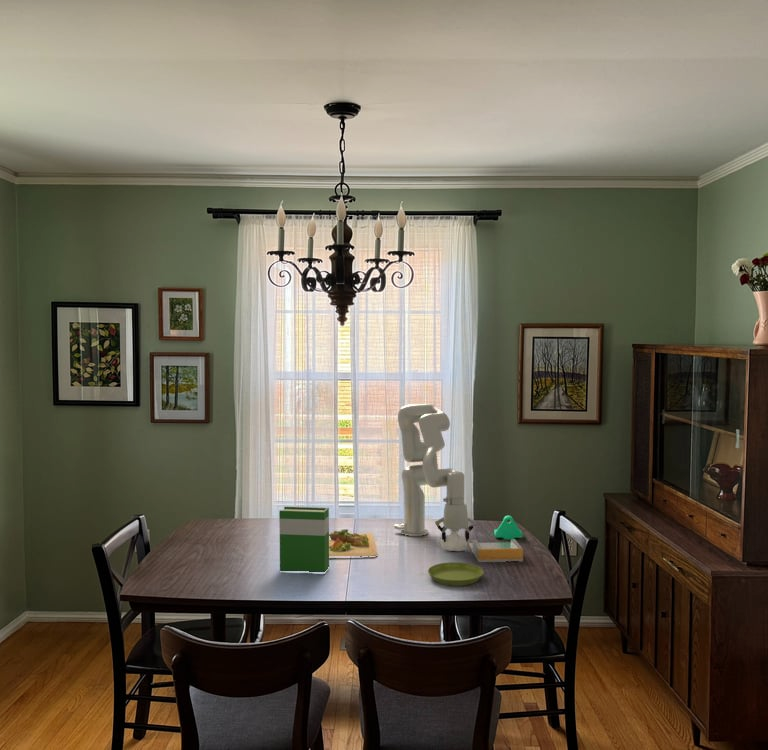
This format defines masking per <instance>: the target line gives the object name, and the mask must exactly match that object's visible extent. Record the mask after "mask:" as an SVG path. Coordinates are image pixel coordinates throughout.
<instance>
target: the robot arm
mask: <svg viewBox="0 0 768 750" xmlns="http://www.w3.org/2000/svg"><path fill="white" fill-rule="evenodd" d="M397 422H398V426H399V429H400V432H401V433H400V434H401V443H402V453H403V455H402V456H403V459H404V461H406V462H407V463H422V464H413V465H409V466H406V467H404V469H402V472H401V479H402V485H403V500H404V501H403V502H404V503H403V505H404V507H403V509H404V510H403V511H404V512H403V513H404V515H403V519H404V521H403V522H402V523H401V524H394V525H393V526H394V530H397V531H398V530H400V533H403V534H405V535H404V536H406V535H410V536H409V537H423V536H422V535H424V536H426V534H427V535H428V534H429V530H428V529H427V528H426V527H425V522H426V519H425V517H426V515H425V512H426V511H425V507H426V506H425V502H426V501H425V498H426V497H425V492H424V491H423V489H422V487H421V486H427V485H428V486H429V487H430V488H434V489H435V488H441V487H443V488H445V487H446V496H445V497H444V498H442V500H443V502H445V504H444V509H443V517H442V518H439V519H438V520H436V521H435V525H436V527H437V529H438V530H439V531H440V532H441V537H442V540H444V542H446V535H447V533H446V531H447V530H450V529H461V530H462V529H463V530H464V529H465V531H464V537H466V541H467V542H468V543H469V540H470V533H471V531H472V530H473V529H474V527H475V525H476V524H477V522H476V521H475V520H474V519H472V518H470V517H469V515H468V514H469V513H468V506H467V504H466V503H465V474H464V472H462V471H457V470H456V469H454V468H449V467H447V468H440V469H439V465H438V456H437V453H438V452H440V451H441V450H443V449H444V448H445V445H446V444H445V443H446V442H445V441H444V436H443V434H442V432H447V431H448V430H449V429H450V426H451V423H450V422H451V421H450V418H449V416H448V414H446V412H444V411H443V410H442V409H440V408H439V407H437V406H436V405H434V404H432V403H418V404H417V403H414V404H407V405H404V406H401V408H399V410H398V414H397ZM417 423H418V427H419V429H418V427H417V425H415V424H417ZM420 432H421V433H420ZM421 436H422V440H421ZM441 523H443V526H441ZM469 523H471V524H470V525H469ZM403 534H402V535H403Z"/></svg>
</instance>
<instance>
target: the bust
mask: <svg viewBox="0 0 768 750" xmlns="http://www.w3.org/2000/svg"><path fill="white" fill-rule="evenodd" d="M461 530H462V529H449V533H450V532H451V533H450V534H446V542H444V540H442V536H441V538H440V539H439V540H440V546H441V548H442V549H443V550H446V551H448V552H451V551H454V552H461V551H463V552H464V551H466V550H467V548H468V546H469V541H468V542H467V541H466V537H465V536H463V535H459V533H460V531H461Z"/></svg>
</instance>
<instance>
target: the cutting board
mask: <svg viewBox="0 0 768 750" xmlns="http://www.w3.org/2000/svg"><path fill="white" fill-rule="evenodd" d="M373 534H374V533H370V532H366V533H365V532H363V533H361V532H359V533H358V532H354V534H353V533H351V532H349V529H345V528H343V529H341V530H340V531H338V530H334V531H333V532H330V533H329V536H330V538H331V540H329V556H360V557H362V556H368V557H369V556H376V555H378V551H377V544H376V540H375V541H374V539H375V536H373ZM378 556H379V555H378Z"/></svg>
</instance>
